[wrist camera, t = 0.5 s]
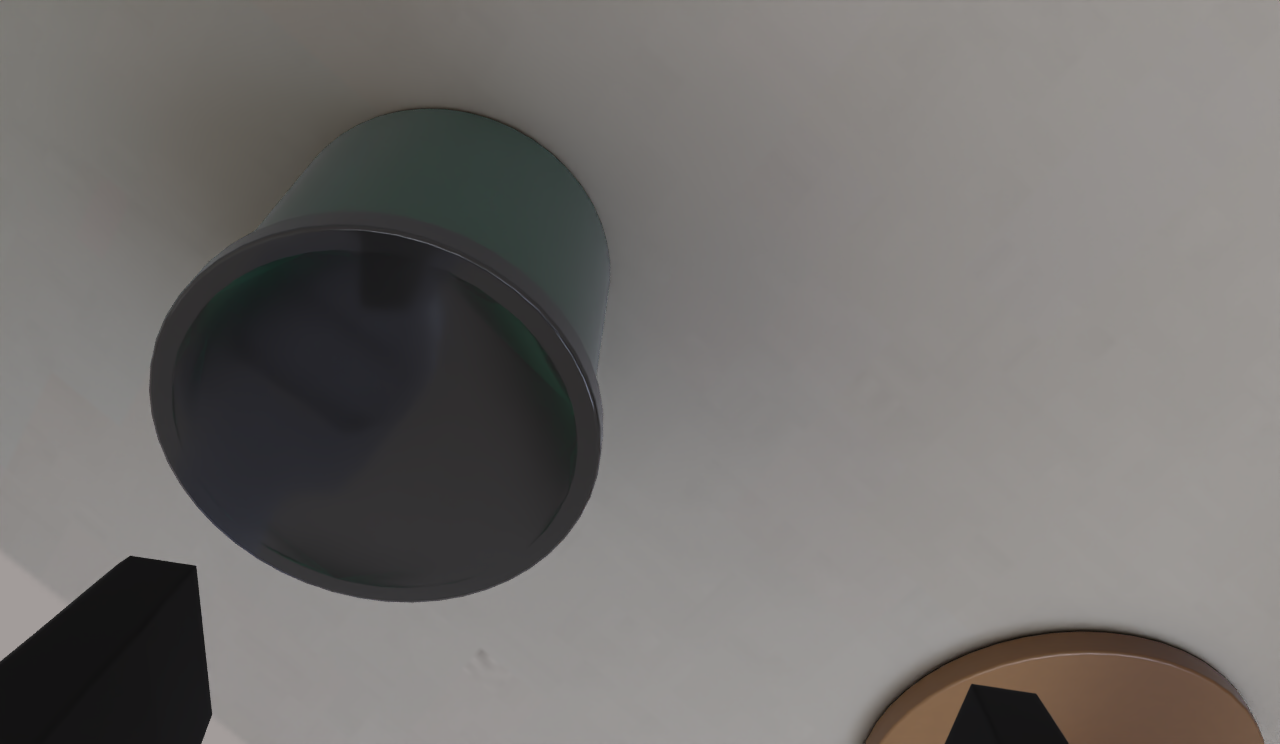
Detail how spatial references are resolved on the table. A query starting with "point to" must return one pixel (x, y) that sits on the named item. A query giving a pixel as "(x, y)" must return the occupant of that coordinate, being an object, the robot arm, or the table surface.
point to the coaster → (1083, 692)
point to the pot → (396, 364)
